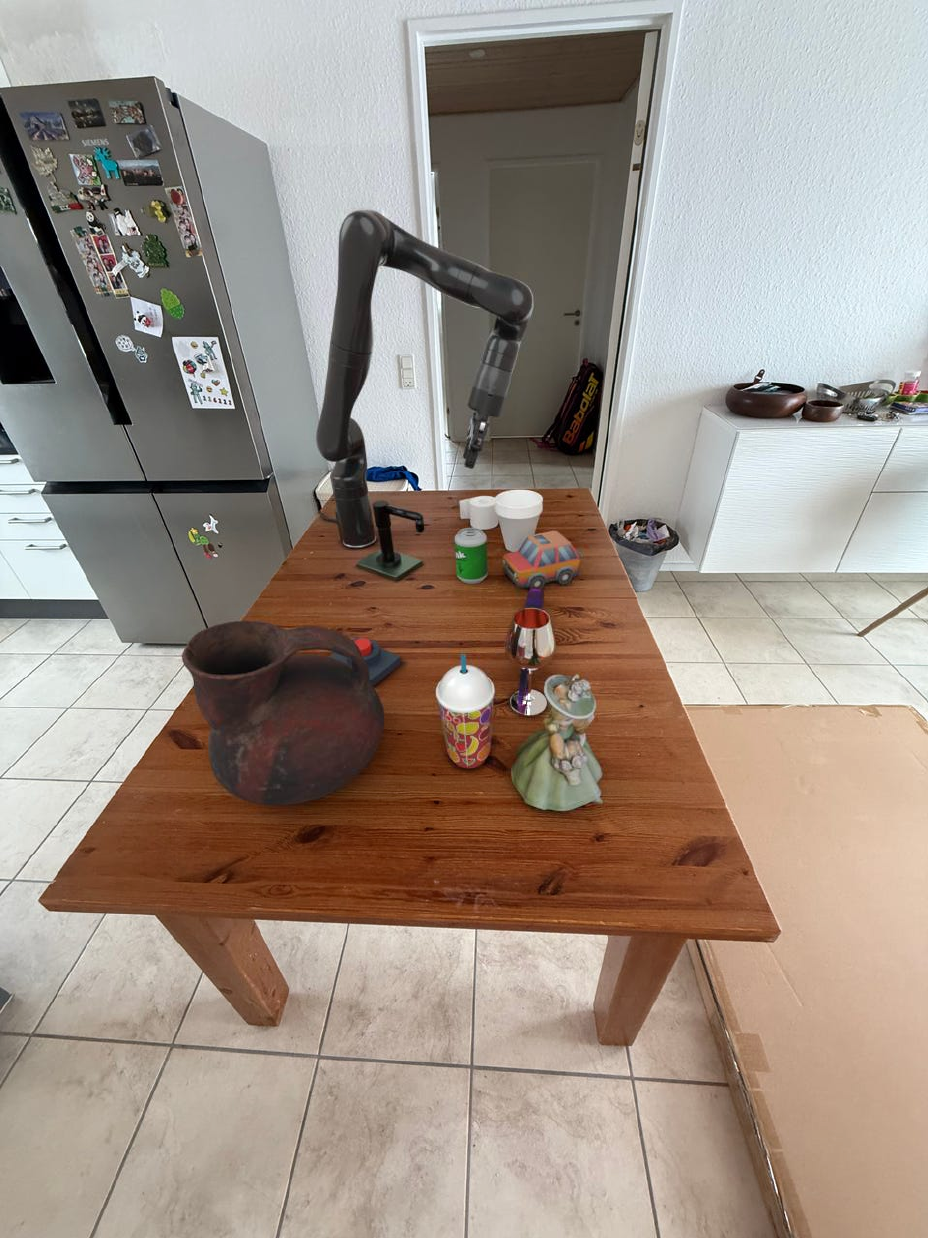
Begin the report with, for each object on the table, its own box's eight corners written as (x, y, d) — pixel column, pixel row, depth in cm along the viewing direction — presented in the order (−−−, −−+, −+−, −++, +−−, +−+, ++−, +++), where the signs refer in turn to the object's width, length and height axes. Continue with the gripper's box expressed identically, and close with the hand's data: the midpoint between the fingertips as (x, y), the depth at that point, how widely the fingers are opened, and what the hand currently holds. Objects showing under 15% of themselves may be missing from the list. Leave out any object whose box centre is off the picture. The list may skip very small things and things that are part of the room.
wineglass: (556, 691, 91) (562, 607, 80) (547, 724, 84) (552, 638, 74) (511, 683, 93) (512, 600, 83) (499, 714, 87) (498, 629, 77)
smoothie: (441, 736, 83) (431, 639, 72) (492, 731, 84) (489, 634, 72) (444, 778, 77) (433, 679, 65) (499, 773, 77) (498, 673, 65)
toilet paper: (460, 518, 154) (459, 496, 150) (498, 517, 153) (497, 495, 149) (459, 530, 147) (458, 507, 143) (498, 529, 147) (498, 506, 143)
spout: (372, 526, 125) (369, 504, 122) (383, 520, 128) (380, 499, 124) (419, 540, 118) (416, 517, 115) (429, 534, 120) (427, 511, 117)
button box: (328, 664, 100) (325, 650, 98) (358, 643, 105) (355, 629, 103) (372, 686, 94) (369, 672, 92) (401, 663, 99) (399, 649, 97)
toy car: (499, 573, 126) (499, 536, 120) (560, 559, 130) (562, 523, 124) (519, 596, 117) (519, 557, 111) (583, 580, 121) (587, 542, 115)
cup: (548, 542, 139) (551, 493, 131) (528, 561, 130) (529, 511, 122) (508, 533, 144) (508, 486, 136) (486, 551, 136) (485, 502, 128)
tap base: (356, 566, 132) (349, 527, 126) (383, 551, 139) (377, 513, 132) (396, 581, 125) (391, 540, 119) (422, 564, 132) (418, 525, 125)
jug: (394, 817, 72) (367, 684, 57) (209, 849, 69) (131, 719, 55) (387, 695, 92) (365, 576, 78) (243, 717, 89) (193, 597, 75)
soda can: (488, 570, 127) (487, 526, 121) (486, 586, 121) (485, 540, 114) (458, 570, 128) (456, 526, 121) (455, 585, 122) (452, 540, 115)
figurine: (571, 852, 66) (585, 749, 55) (486, 794, 74) (482, 693, 62) (622, 779, 75) (644, 677, 63) (542, 734, 83) (547, 636, 71)
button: (349, 653, 98) (347, 646, 97) (362, 643, 100) (361, 636, 99) (362, 659, 96) (360, 652, 95) (375, 649, 98) (374, 642, 97)
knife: (527, 602, 115) (527, 583, 112) (543, 603, 114) (544, 584, 111) (507, 720, 85) (507, 697, 82) (529, 722, 84) (530, 700, 81)
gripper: (471, 381, 115) (451, 452, 123) (475, 387, 103) (452, 465, 110) (502, 391, 116) (481, 461, 124) (510, 398, 104) (485, 475, 112)
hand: (467, 463), depth 117 cm, fingers open, 8 cm apart
